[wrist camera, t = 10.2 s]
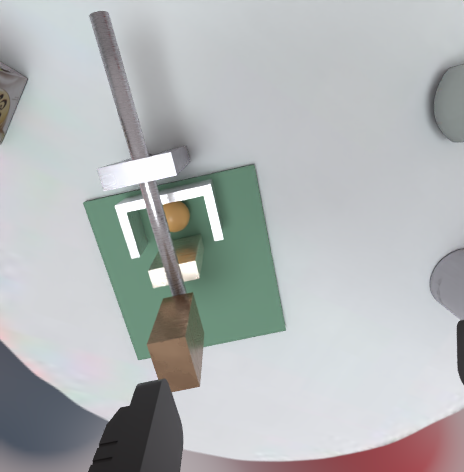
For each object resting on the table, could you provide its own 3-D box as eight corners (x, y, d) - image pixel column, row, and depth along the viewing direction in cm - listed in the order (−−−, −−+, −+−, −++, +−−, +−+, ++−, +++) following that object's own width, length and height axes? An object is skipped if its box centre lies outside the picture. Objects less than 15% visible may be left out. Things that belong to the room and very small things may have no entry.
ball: (185, 213, 39) (194, 235, 42) (184, 189, 41) (192, 211, 45) (151, 220, 39) (162, 241, 42) (152, 196, 42) (162, 218, 45)
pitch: (253, 164, 43) (254, 165, 42) (284, 326, 50) (285, 330, 49) (85, 201, 44) (83, 202, 43) (139, 355, 51) (138, 360, 50)
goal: (211, 178, 43) (210, 184, 38) (223, 227, 45) (223, 239, 40) (126, 197, 43) (114, 205, 38) (141, 245, 45) (131, 258, 40)
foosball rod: (150, 37, 37) (88, -44, 20) (214, 289, 47) (210, 384, 29) (106, 48, 38) (6, -24, 20) (178, 296, 47) (152, 395, 29)
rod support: (186, 145, 42) (170, 152, 29) (190, 161, 43) (176, 175, 30) (134, 157, 43) (96, 168, 30) (139, 172, 43) (103, 191, 30)
